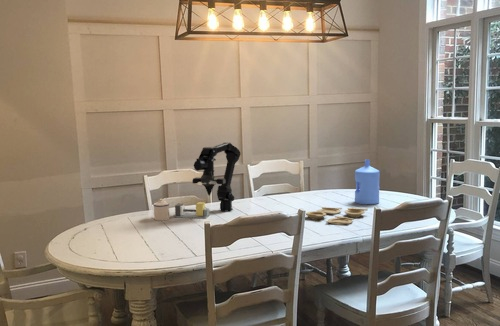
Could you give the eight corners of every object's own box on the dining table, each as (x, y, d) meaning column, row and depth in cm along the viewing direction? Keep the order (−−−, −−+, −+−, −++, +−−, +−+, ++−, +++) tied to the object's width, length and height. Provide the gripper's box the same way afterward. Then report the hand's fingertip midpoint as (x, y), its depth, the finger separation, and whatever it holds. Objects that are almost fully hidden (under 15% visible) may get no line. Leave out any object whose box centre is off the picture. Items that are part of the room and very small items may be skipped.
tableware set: (325, 209, 290) (325, 202, 289) (370, 214, 273) (370, 207, 272) (297, 220, 261) (297, 213, 261) (345, 227, 244) (345, 220, 244)
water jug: (382, 201, 307) (383, 159, 304) (374, 205, 294) (375, 161, 291) (359, 199, 316) (359, 158, 312) (351, 203, 303) (351, 160, 299)
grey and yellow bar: (210, 215, 276) (209, 203, 275) (206, 218, 268) (205, 206, 268) (179, 214, 280) (179, 202, 279) (174, 217, 272) (174, 205, 271)
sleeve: (205, 214, 275) (204, 202, 274) (202, 215, 270) (202, 204, 270) (198, 213, 276) (198, 202, 275) (196, 215, 271) (195, 204, 270)
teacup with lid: (172, 219, 269) (171, 199, 267) (158, 221, 263) (157, 201, 262) (163, 215, 278) (162, 196, 277) (149, 217, 273) (148, 198, 271)
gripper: (188, 170, 266) (189, 197, 268) (220, 170, 262) (220, 198, 263) (195, 167, 277) (196, 193, 278) (225, 168, 272) (226, 195, 274)
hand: (209, 195), depth 273 cm, fingers closed
